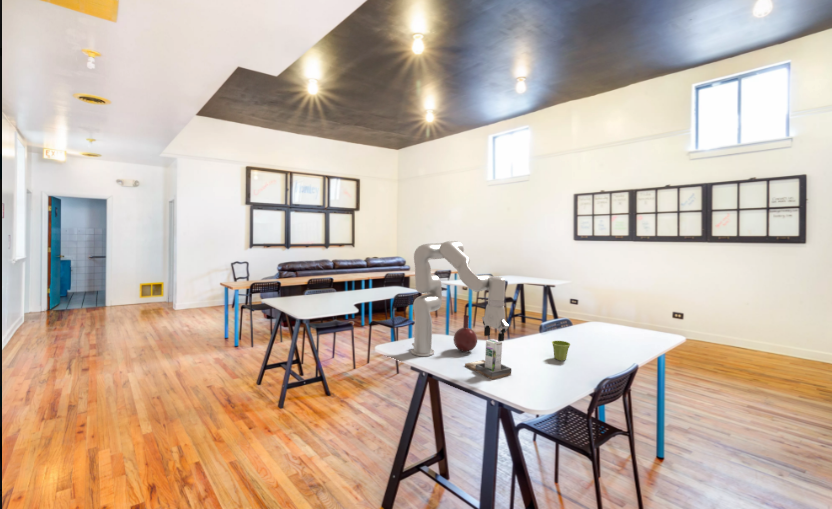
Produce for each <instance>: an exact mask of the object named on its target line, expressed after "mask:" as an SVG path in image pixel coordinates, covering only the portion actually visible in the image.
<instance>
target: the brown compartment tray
mask: <svg viewBox="0 0 832 509" xmlns="http://www.w3.org/2000/svg"><path fill="white" fill-rule="evenodd" d="M464 364H465V365H464V367H466V368H468V369H470V370H472V371H474V372H476V373H479V374H480V375H483V376H484V377H486V378H488V377H489V379H491V380H495V379H499V378H503V377H504V376H505V377H509V376H511V375H512V368H511V367H509V366H506V365H505V364H502V363H501V370H498V371H493V372H492V371H490V370H488V369H486V368H485V359H482V360H476V361H472V362H467V363H464ZM508 375H509V376H508Z"/></svg>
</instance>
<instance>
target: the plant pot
mask: <svg viewBox="0 0 832 509" xmlns="http://www.w3.org/2000/svg"><path fill="white" fill-rule="evenodd" d="M551 343H552V348H553V358H554V360H557V361H565V360H567V356H568V353H569V352H568V351H569V348H570V346H571V343H570V342H568V341H565V340H552V341H551Z"/></svg>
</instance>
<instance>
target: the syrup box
mask: <svg viewBox="0 0 832 509" xmlns="http://www.w3.org/2000/svg"><path fill="white" fill-rule="evenodd" d="M502 352H503V341H500V342H499V341H498V339H494V338H491V339H487V340H486V341H485V352H484V353H485V355H484V360H485V368H486V369H488V370H490V371H492V372H493V371H498V370H501V364H502Z"/></svg>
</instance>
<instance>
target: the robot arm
mask: <svg viewBox="0 0 832 509" xmlns="http://www.w3.org/2000/svg"><path fill="white" fill-rule="evenodd" d="M464 251H465V249H464V246H463V244H462V243H461V242H460V241H458V240H457V241H456V240H454V241H453V240H451V241H450V240H449V241H445V242H439V243H438V242H437V243H424V244H421V245H419V246H417V248H416V249H415V251H414V253H413V262H414V279H415V280H414V281H415V290H416V292H418V293H420V294H422V295H420V296H418V297H416V298H415V299H414V301H413V303H412V306H413V313H414V335H413V337H414V339H413V343H411V345H412V346H413V348H412V349H411V350H410V354H412V356H417V357H429V356H433V355H434V354H435V351H434V349H433V348H432V343H433V341H432V340H433V319H432V318H433V317H432V315H431V313H432V312H435V311H438V310H439V309H440V308H441V307H442V303H443V294H442V293H443V292H442V289H443V288H442V281H441V279H440V277H439V276H438V275H436V274H433V273H432V268H431V264H430V262H429V260H442V259H445V260H446V261H447V262H448V263H449V264H450V265H451V266H452V267H453V268H454V269H455V270H456V271H457V275H458V278H459V279H460V281H461V282H462V283H463V284H464V285H465V286H466V287H467V288H468V289H469V290H471V291H473V292H476V293H477V292H482V291H488V296H487V298H488V299H487V304H486V306H485V311H484V316H482V317H481V319H482V324H483V328H484V330H483V331H484V334H483V335H484V337H487V336H490V335H491V328H493V329H497V330H498V336H497V338H498V339H497V341H499V342H504V341H505V334H506V332H507V331H508V328H509V326H510V325H509V324H508V323H507V322H506V310H505V294H506V293H505V292H506V279H505V278H504V277H500V276H493V275H490V274H480V275H476V273H474V272H473V271H472V270H471V268H470V267H469V264H470V261H471V260H470V258H469V256H468V255H466V254H465V253H464Z"/></svg>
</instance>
